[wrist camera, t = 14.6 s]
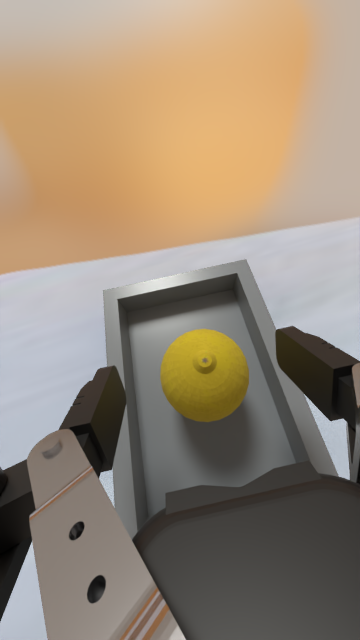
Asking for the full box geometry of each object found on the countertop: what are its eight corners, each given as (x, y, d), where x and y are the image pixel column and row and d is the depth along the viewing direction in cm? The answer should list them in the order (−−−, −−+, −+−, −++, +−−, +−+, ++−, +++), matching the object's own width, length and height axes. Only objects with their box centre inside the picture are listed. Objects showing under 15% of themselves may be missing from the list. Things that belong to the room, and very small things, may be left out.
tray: (135, 537, 14) (118, 570, 11) (116, 308, 22) (103, 290, 19) (323, 495, 14) (356, 517, 11) (239, 281, 22) (246, 259, 19)
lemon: (161, 409, 17) (131, 405, 10) (178, 344, 19) (165, 299, 12) (231, 429, 16) (258, 441, 9) (242, 358, 18) (270, 319, 11)
